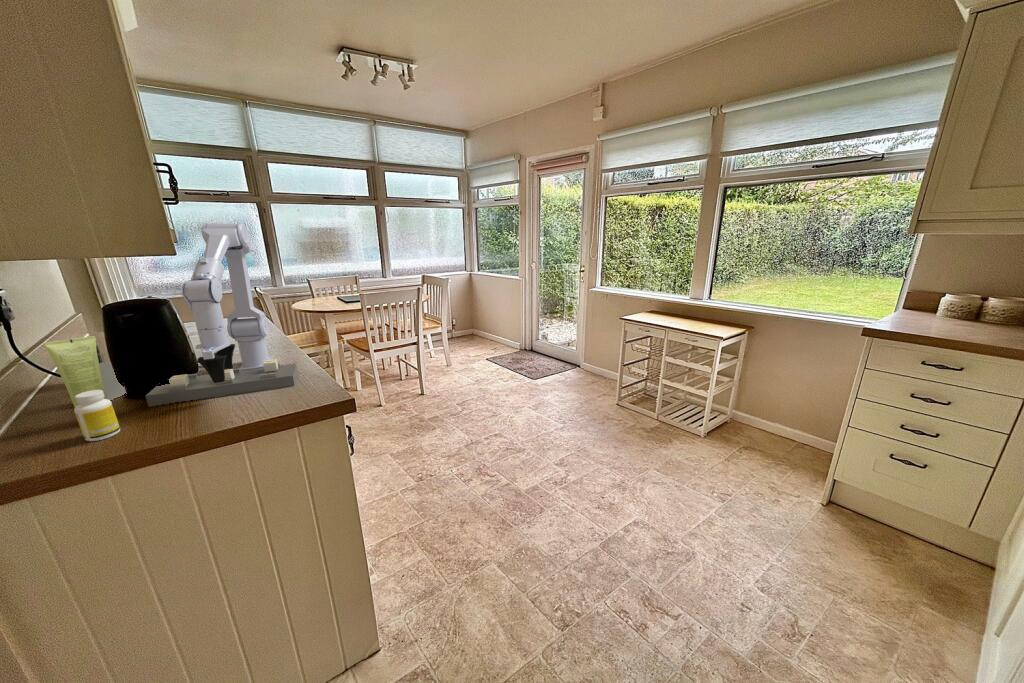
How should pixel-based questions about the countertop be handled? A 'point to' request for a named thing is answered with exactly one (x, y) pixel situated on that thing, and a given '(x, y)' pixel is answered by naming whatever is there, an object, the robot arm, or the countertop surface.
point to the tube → (77, 365)
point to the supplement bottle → (96, 416)
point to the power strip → (224, 385)
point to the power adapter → (110, 381)
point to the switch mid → (229, 374)
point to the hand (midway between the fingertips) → (223, 376)
